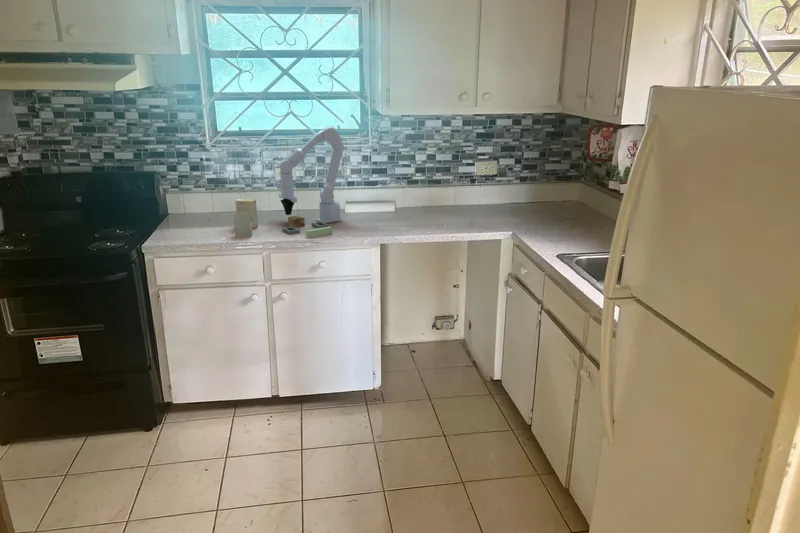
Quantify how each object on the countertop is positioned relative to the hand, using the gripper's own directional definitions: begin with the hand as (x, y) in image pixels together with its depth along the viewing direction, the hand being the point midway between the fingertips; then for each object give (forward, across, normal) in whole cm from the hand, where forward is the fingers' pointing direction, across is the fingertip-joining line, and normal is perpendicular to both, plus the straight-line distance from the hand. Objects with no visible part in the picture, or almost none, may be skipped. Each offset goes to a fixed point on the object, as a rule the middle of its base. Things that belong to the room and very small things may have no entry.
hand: (288, 214), depth 284 cm
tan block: (+4, +8, 0) cm, 8 cm away
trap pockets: (+3, +21, 0) cm, 22 cm away
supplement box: (+4, -1, -20) cm, 20 cm away
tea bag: (+4, +11, -27) cm, 29 cm away
